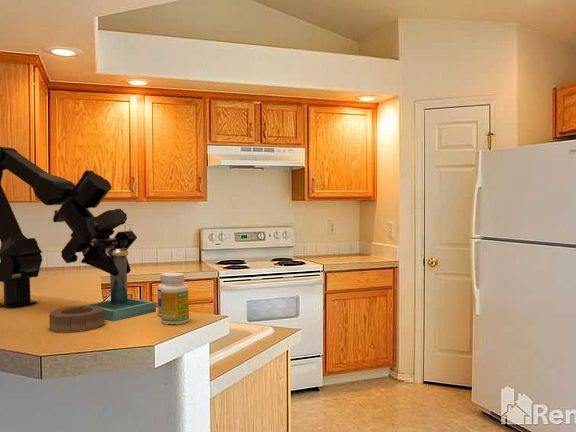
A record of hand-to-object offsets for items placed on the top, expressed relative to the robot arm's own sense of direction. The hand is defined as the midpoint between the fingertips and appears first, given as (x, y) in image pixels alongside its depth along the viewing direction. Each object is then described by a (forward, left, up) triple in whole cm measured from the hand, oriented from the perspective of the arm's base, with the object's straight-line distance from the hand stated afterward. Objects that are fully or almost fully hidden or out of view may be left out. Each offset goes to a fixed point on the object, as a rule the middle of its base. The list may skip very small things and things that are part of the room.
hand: (123, 273), depth 115 cm
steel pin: (-1, 0, -7) cm, 7 cm away
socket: (+2, -12, -9) cm, 15 cm away
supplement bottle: (+16, +1, -9) cm, 18 cm away
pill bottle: (+10, +5, -9) cm, 14 cm away
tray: (-1, 0, -9) cm, 9 cm away
